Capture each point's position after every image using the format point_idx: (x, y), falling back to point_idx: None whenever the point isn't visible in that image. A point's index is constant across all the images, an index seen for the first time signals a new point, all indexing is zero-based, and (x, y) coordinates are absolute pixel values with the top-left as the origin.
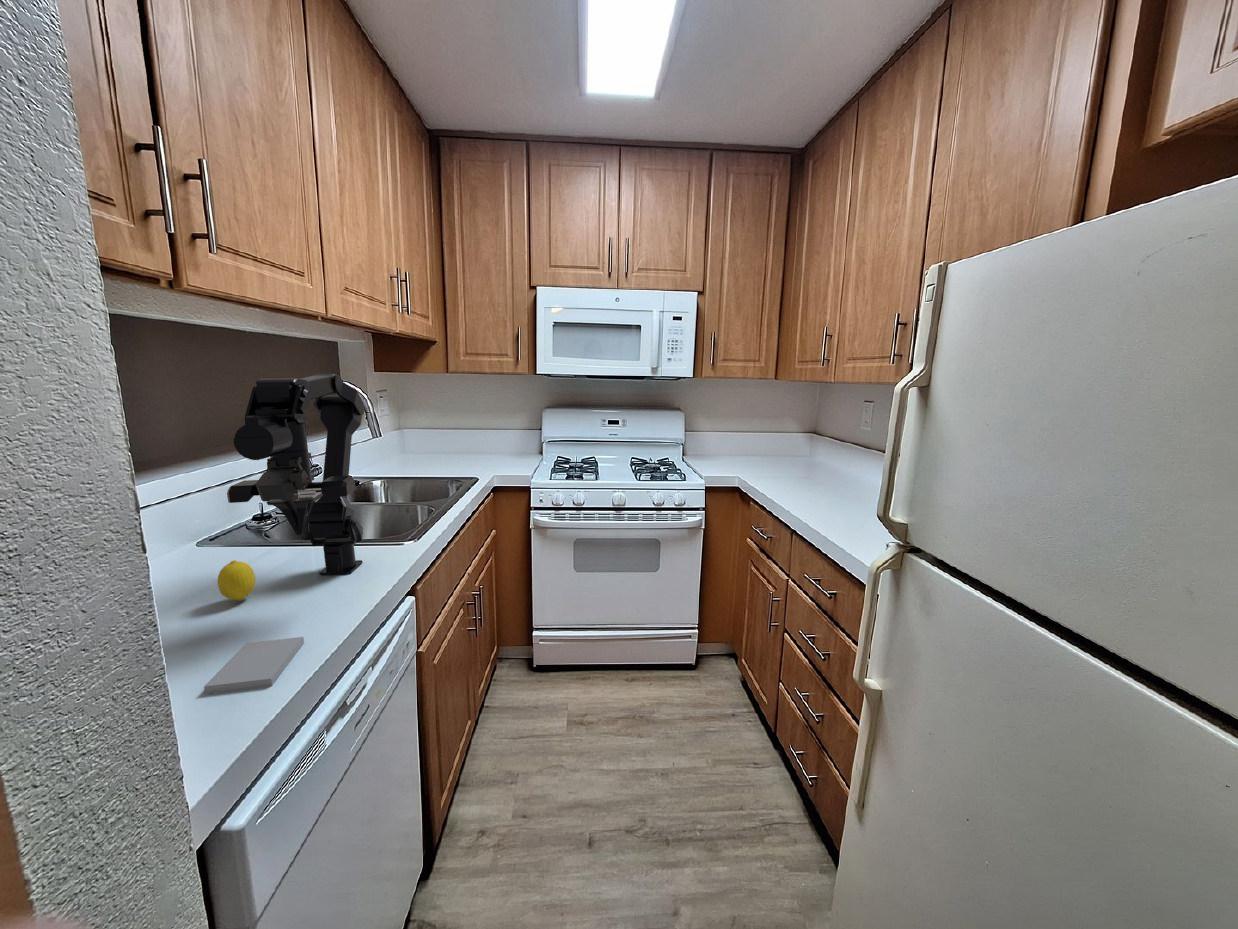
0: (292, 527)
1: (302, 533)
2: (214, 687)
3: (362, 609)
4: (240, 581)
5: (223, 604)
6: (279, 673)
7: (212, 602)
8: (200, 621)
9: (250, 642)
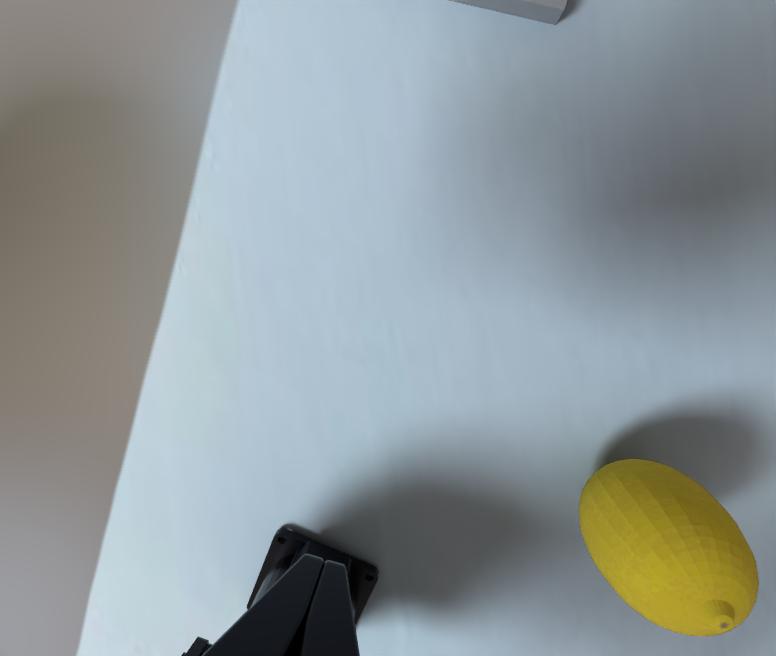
0: (353, 638)
1: (297, 567)
2: None
3: (206, 194)
4: (644, 492)
5: None
6: None
7: None
8: (727, 364)
9: (549, 6)
